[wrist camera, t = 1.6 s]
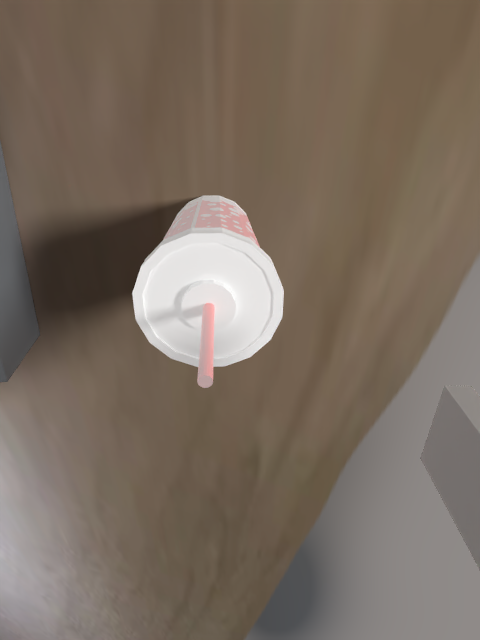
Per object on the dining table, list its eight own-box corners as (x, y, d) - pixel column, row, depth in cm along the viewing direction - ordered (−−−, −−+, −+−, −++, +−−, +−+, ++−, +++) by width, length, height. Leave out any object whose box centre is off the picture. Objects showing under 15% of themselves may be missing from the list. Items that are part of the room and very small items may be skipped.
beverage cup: (175, 291, 27) (138, 467, 15) (146, 193, 24) (70, 313, 12) (272, 272, 27) (316, 437, 15) (254, 170, 24) (291, 270, 12)
